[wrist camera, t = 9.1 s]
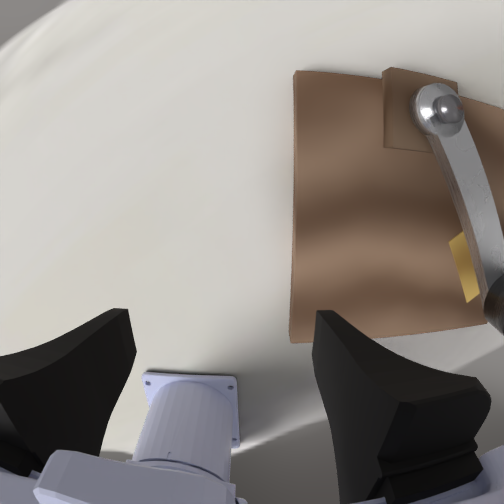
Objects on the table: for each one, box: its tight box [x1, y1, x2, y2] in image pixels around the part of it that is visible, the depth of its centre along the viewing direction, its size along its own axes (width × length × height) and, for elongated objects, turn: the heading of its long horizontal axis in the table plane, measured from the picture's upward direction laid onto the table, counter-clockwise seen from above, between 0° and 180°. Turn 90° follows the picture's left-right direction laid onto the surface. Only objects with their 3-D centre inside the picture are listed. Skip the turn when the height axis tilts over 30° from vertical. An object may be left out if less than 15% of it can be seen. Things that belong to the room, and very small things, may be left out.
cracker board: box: [289, 67, 504, 343], centre depth 19 cm, size 18×18×3 cm
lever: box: [409, 83, 504, 335], centre depth 15 cm, size 18×4×6 cm, turn 32°
